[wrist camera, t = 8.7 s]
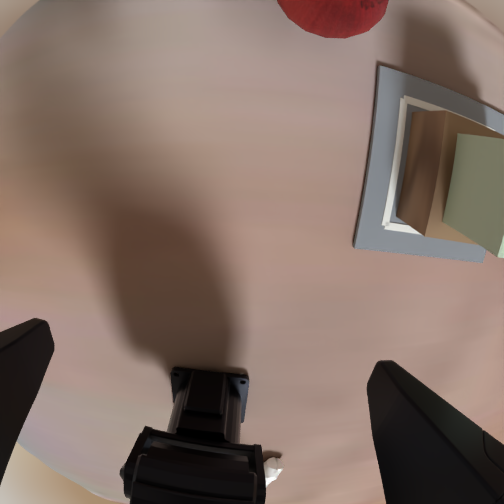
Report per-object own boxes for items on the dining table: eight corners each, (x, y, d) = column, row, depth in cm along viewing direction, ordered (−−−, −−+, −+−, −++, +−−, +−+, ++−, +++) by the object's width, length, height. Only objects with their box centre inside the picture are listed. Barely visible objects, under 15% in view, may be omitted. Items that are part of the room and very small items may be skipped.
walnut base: (470, 229, 19) (502, 249, 15) (395, 216, 19) (424, 236, 15) (487, 139, 16) (523, 145, 12) (412, 111, 16) (445, 110, 12)
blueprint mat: (479, 261, 20) (482, 263, 20) (352, 246, 20) (354, 248, 19) (507, 118, 16) (510, 118, 15) (377, 66, 15) (380, 65, 15)
